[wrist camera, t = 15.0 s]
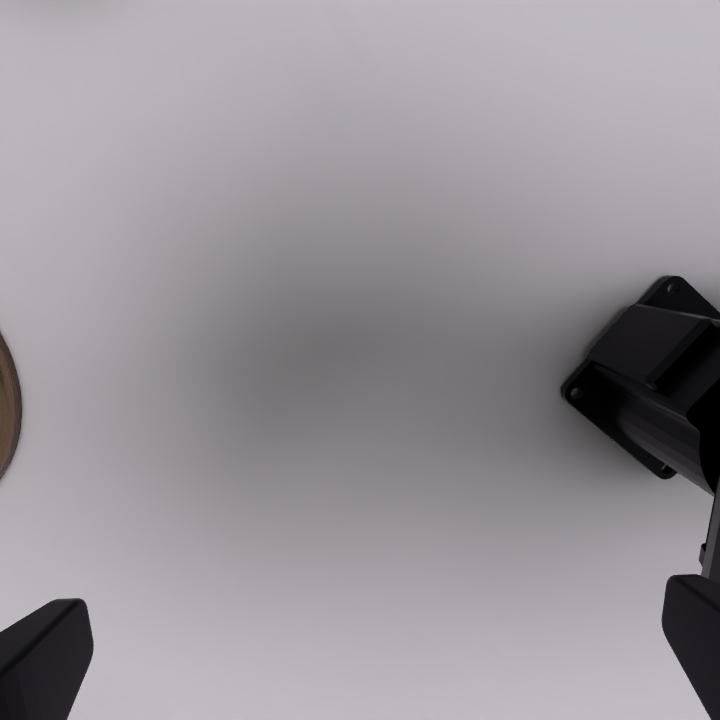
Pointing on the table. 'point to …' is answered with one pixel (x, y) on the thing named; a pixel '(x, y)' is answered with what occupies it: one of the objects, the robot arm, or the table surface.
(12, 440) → the collar seat
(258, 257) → the table surface
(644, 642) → the table surface
